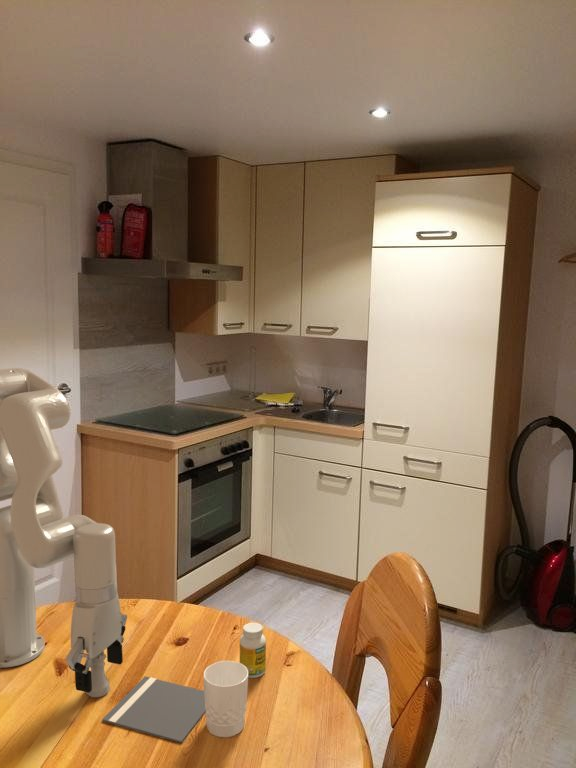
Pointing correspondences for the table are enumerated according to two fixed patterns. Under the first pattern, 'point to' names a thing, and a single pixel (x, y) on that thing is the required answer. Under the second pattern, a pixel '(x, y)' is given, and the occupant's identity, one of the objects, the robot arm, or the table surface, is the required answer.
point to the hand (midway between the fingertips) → (100, 676)
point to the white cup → (225, 697)
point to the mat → (159, 709)
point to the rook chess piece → (98, 677)
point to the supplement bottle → (253, 649)
